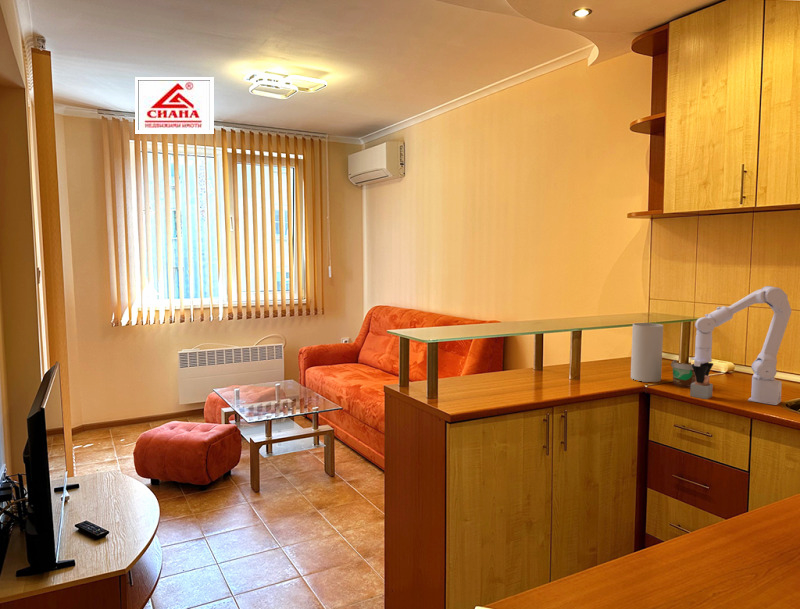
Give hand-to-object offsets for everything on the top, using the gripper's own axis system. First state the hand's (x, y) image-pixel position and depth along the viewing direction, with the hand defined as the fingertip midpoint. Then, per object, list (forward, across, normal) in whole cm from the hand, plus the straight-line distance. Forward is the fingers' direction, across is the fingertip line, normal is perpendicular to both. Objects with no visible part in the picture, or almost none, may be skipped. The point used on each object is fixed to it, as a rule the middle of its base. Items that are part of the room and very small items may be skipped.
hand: (701, 381), depth 220 cm
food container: (+6, -14, -12) cm, 19 cm away
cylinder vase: (+6, -14, -27) cm, 31 cm away
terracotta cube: (+2, 0, 0) cm, 2 cm away
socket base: (+6, 0, 0) cm, 6 cm away
